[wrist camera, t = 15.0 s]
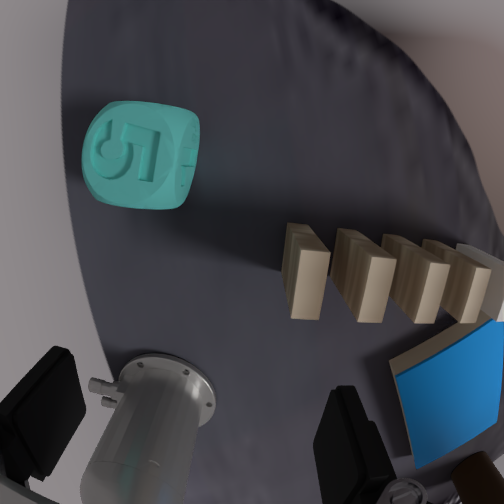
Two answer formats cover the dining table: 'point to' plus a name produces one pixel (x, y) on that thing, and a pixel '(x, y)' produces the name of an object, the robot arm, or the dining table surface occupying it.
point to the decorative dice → (141, 154)
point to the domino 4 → (461, 282)
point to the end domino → (499, 285)
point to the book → (450, 386)
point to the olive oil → (478, 481)
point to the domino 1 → (304, 271)
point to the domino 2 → (362, 274)
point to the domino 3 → (416, 278)
